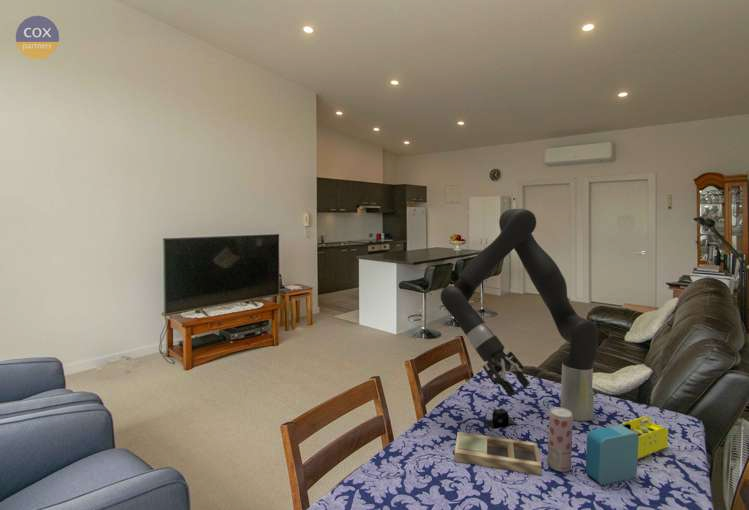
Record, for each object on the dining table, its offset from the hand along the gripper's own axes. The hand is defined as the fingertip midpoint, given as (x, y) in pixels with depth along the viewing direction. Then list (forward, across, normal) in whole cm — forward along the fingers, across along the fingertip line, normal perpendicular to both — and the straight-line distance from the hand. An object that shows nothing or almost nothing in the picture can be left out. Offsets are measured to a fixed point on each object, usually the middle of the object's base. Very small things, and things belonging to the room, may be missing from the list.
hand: (520, 390), depth 112 cm
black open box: (+5, +10, +21) cm, 23 cm away
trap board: (+10, -8, +14) cm, 19 cm away
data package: (+28, +5, -3) cm, 29 cm away
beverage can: (+20, 0, +4) cm, 21 cm away
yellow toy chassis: (+30, +24, -5) cm, 39 cm away
